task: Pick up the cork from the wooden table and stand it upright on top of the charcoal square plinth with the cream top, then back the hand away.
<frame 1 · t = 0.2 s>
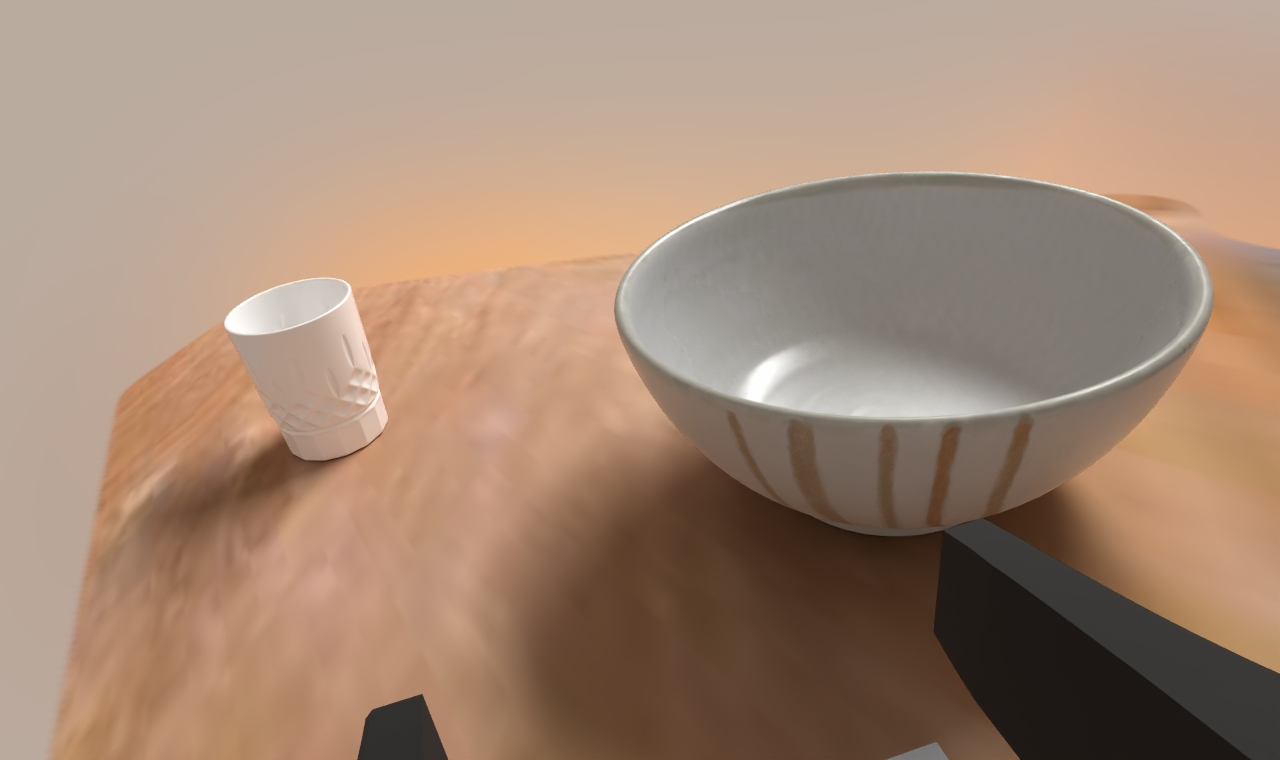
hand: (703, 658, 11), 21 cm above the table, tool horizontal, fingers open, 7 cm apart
decorative bowl: (885, 465, 47), on the table
white cup: (341, 435, 59), on the table
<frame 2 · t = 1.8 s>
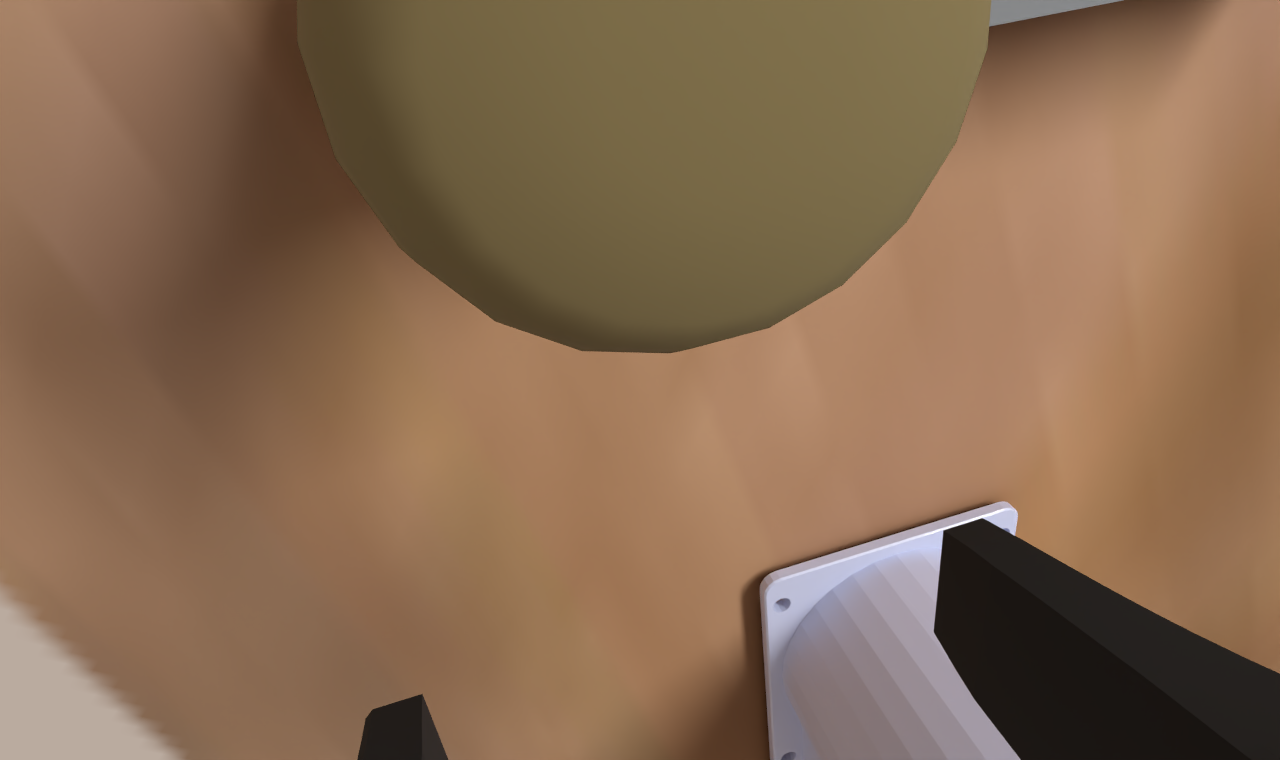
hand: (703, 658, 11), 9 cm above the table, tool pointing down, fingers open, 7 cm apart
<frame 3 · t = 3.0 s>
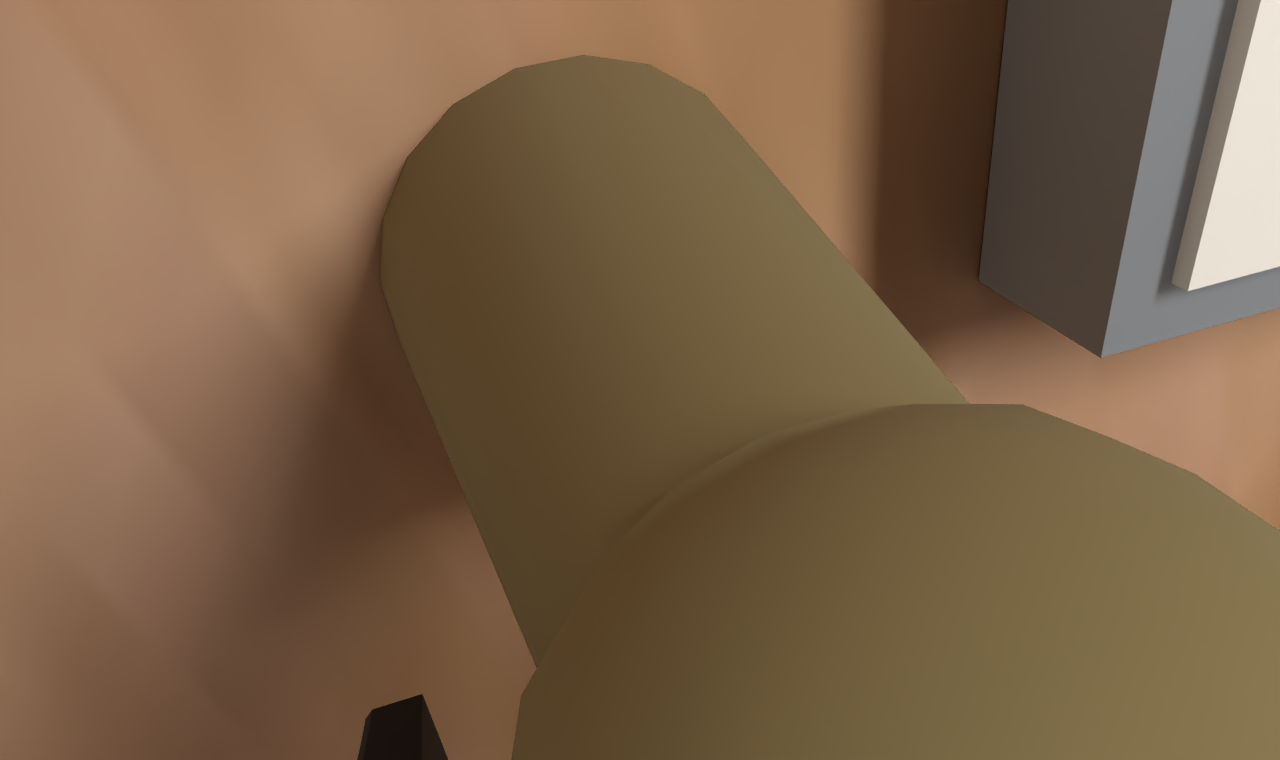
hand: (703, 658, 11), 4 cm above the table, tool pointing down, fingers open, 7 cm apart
cork: (583, 259, 13), on the table
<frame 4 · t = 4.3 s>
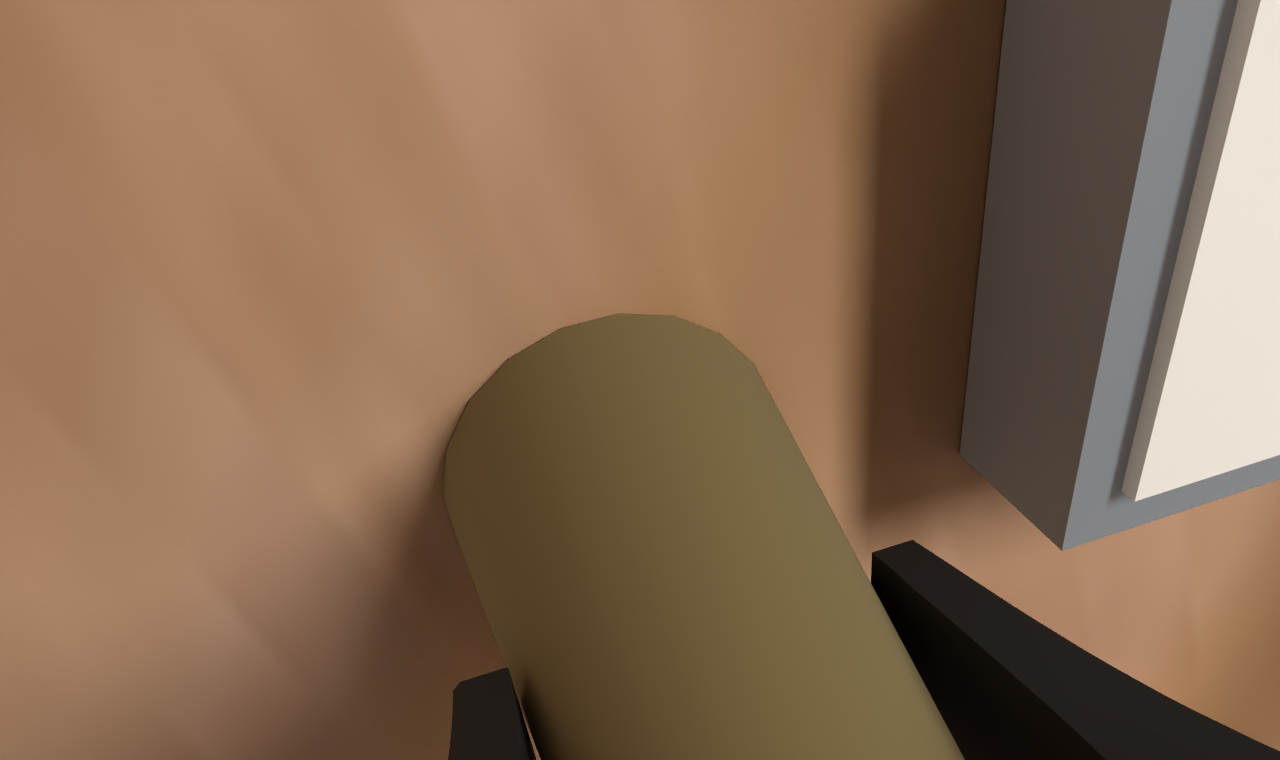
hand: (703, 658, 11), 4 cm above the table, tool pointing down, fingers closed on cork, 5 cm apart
plinth: (1223, 166, 15), on the table
cork: (614, 462, 15), on the table, touching gripper
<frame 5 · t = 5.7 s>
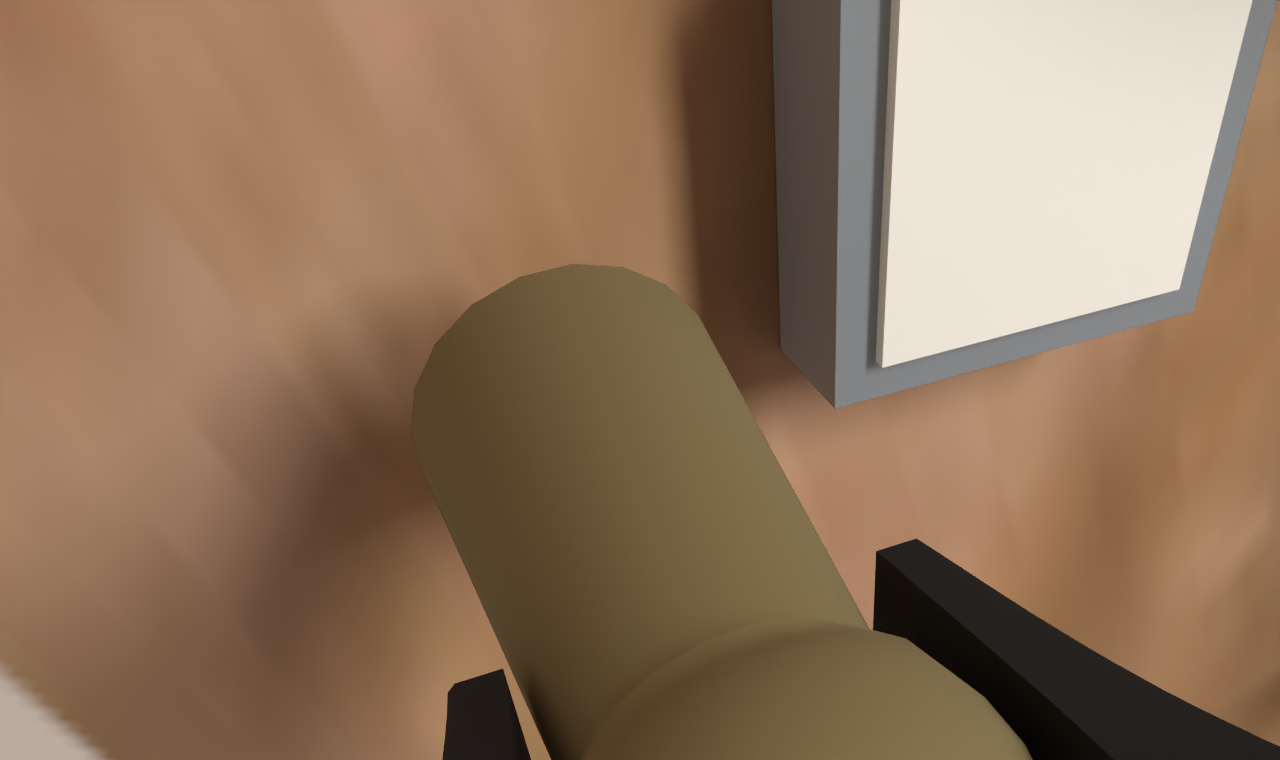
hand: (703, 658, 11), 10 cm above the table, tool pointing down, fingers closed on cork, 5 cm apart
plinth: (967, 122, 20), on the table
cork: (570, 405, 16), point 4 cm above the table, touching gripper
when the fingers open (9 cm above the table, at t = 7.2 s): cork stays where it is, resting on plinth.
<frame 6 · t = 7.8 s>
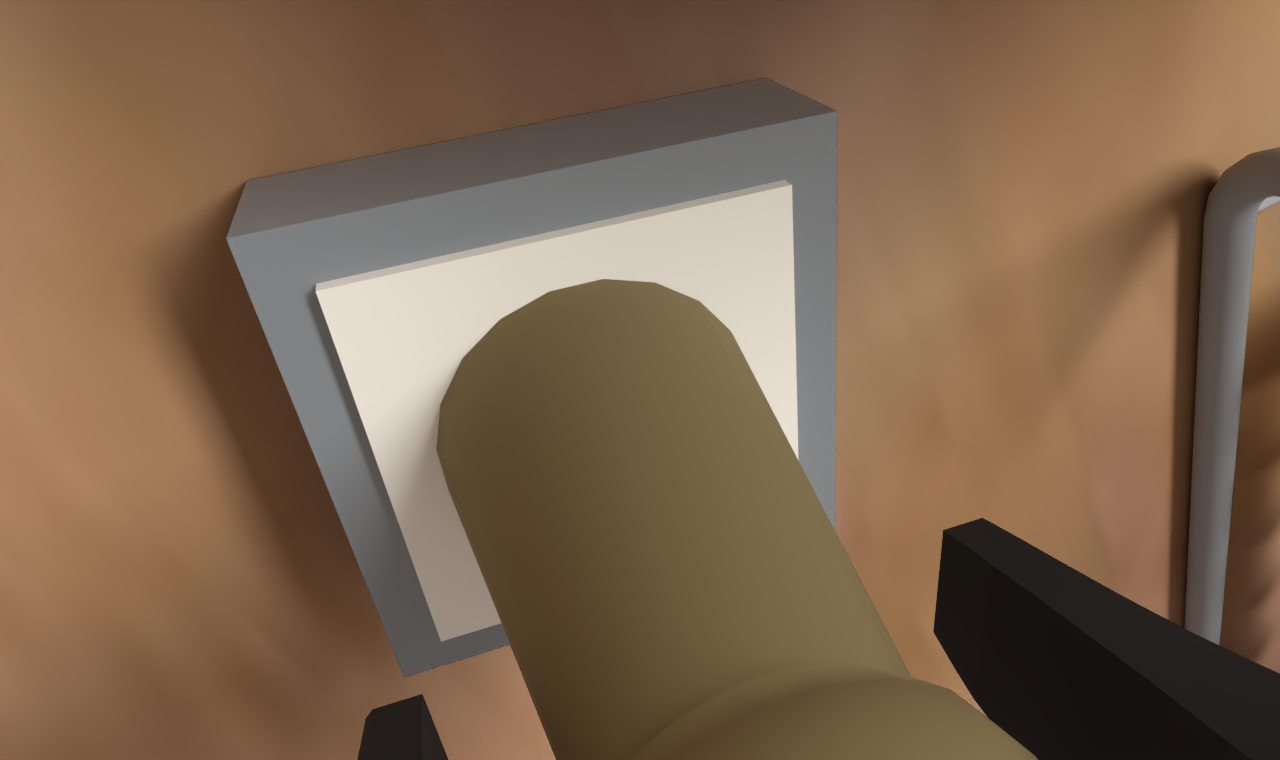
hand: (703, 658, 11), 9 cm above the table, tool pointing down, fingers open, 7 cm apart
plinth: (564, 353, 19), on the table
cork: (598, 422, 16), point 3 cm above the table, touching plinth
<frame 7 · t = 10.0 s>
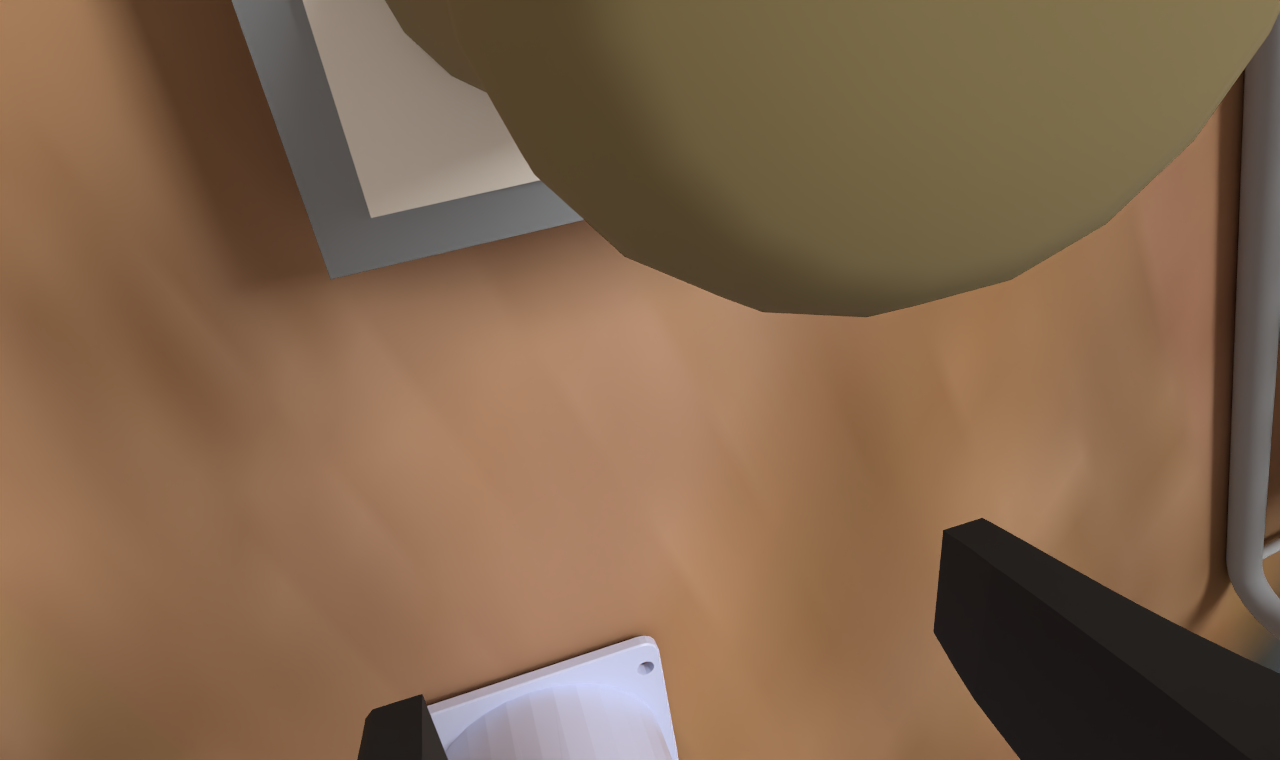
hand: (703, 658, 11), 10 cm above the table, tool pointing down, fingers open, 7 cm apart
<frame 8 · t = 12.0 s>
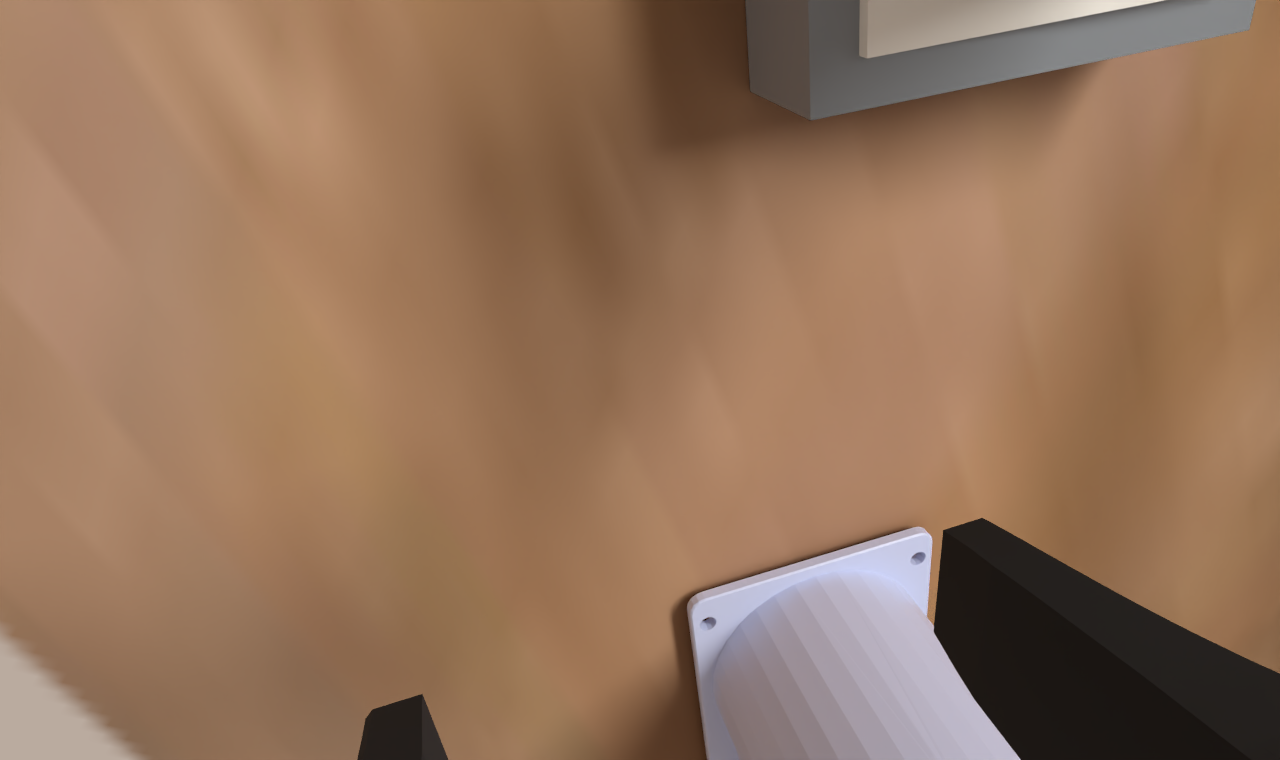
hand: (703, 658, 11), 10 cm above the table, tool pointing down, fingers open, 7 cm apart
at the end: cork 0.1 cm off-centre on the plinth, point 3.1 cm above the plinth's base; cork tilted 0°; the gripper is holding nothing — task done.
